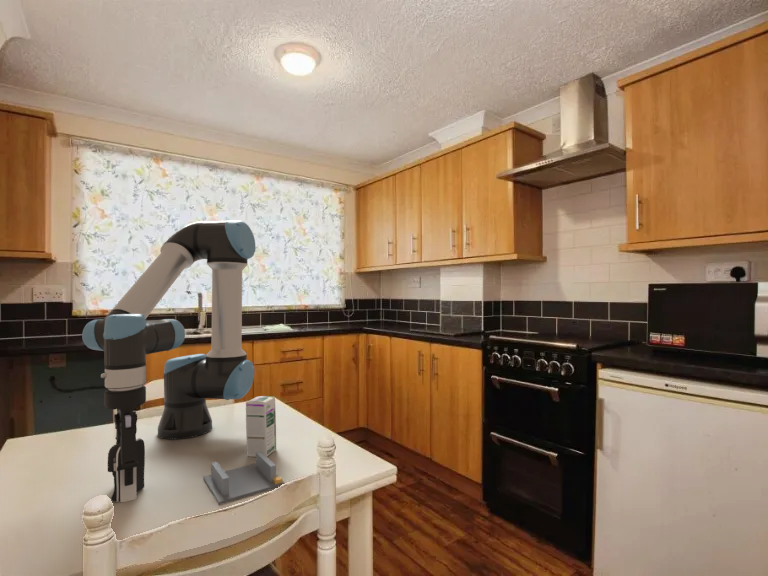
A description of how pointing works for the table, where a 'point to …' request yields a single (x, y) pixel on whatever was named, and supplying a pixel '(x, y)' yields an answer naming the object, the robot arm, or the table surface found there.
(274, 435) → the syrup box
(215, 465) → the dock
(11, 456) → the table surface
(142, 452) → the battery
